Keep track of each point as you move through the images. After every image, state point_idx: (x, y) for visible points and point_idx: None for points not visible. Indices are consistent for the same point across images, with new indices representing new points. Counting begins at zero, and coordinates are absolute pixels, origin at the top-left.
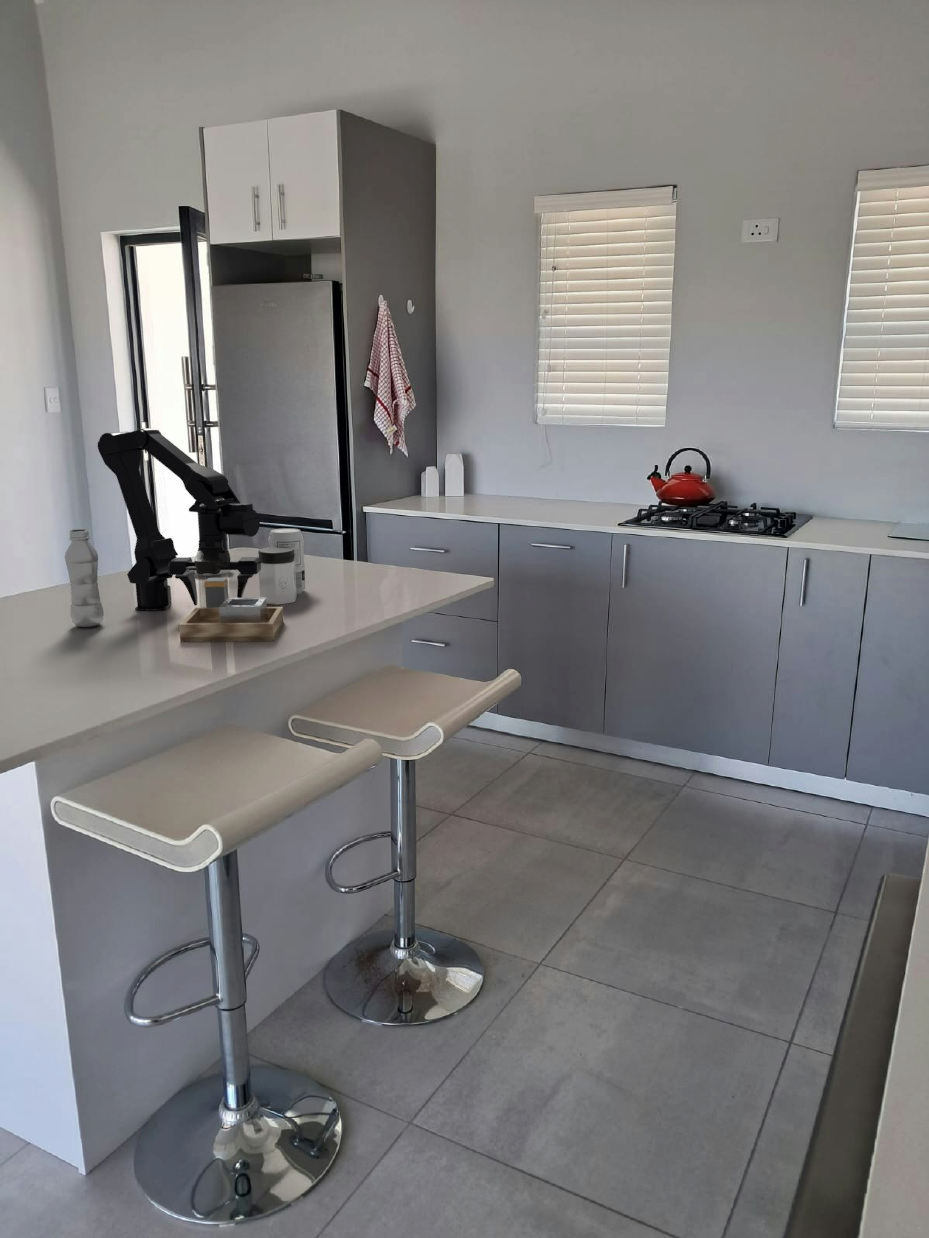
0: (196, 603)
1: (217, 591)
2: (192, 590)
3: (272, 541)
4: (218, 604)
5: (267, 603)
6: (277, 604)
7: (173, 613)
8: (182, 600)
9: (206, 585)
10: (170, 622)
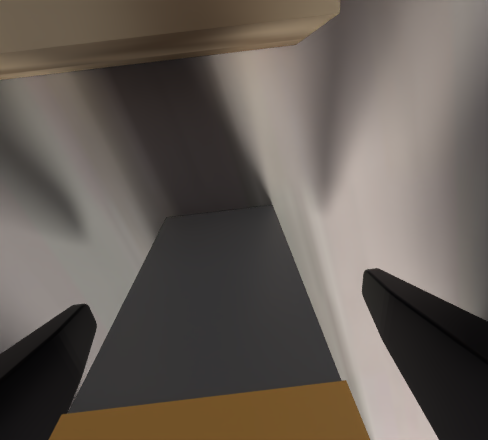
0: (368, 282)
1: (176, 343)
2: (471, 343)
3: None
4: (193, 256)
5: None
6: None
7: (462, 275)
8: (433, 433)
9: (324, 404)
10: (478, 80)
